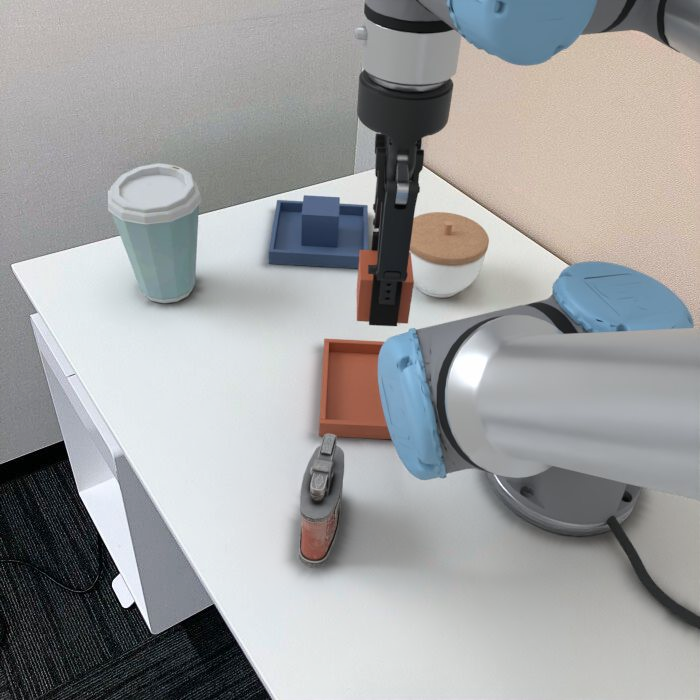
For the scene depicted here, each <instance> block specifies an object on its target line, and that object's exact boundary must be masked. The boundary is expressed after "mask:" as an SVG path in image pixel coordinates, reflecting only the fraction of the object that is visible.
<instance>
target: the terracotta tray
mask: <svg viewBox="0 0 700 700" xmlns="http://www.w3.org/2000/svg"><path fill="white" fill-rule="evenodd" d="M384 342H385V341H383V340H381V341H380V340H363V339H345V338H344V339H340V338H323V354H322V371H321V375H322V376H321V390H320V404H319V405H320V406H319V407H320V408H319V425H318V437H324V435H325V434H333V435H335V436H336V437H337V438H353V439H354V438H357V439H375V440H376V439H378V440H392V439H391V436H390V433H389V430H388V427H387V423H386V420H385V416H384V412H383V408H382V403H381V398H380V391H379V384H378V357H379V353H380V350H381V347H382V345H383V344H384Z"/></svg>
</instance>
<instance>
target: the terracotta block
mask: <svg viewBox="0 0 700 700" xmlns="http://www.w3.org/2000/svg"><path fill="white" fill-rule="evenodd" d="M377 252H378V251H374V250H371V249H368V250H360V255H359V267H358V269H357V281H356V322H364V323H365V322H367V323H369V315H370V304H371V294H372V283H373V274H368V265H376V264H377ZM407 272H408V275H407V278H406V281H405V282H403V283H402V291H401V299H400V307H399V314H398V322H397V324H408V323H409V318H410V311H411V306H412V305H411V304H412V299H413V291H414V285H415V284H414V280H413V270H412V261H411V252H409V259H408V266H407Z"/></svg>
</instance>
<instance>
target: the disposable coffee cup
mask: <svg viewBox="0 0 700 700" xmlns="http://www.w3.org/2000/svg"><path fill="white" fill-rule="evenodd" d="M201 203H202V197H201V193H200V189H199V187H198V182H196V181H195V180H194V178H193V174H192V173H191V172H189V171H187V170H186V169H184V168H182V167H180V166H178V165H175V164H174V165H173V164H169V163H168V164H167V163H161V162H158V163H151V164H146V165H139V166H137V167H135V168H133V169H131V170H129V171H127V172H125V173H122V174H121V175H120V176H119V177H118V178H117V179H116V180H115V181H114V182H113V184H112V185H111V186H110V188H109V189H108V191H107V207H108V208H107V209H108V212H110V213H111V216H112V218H113V220H114V223H115V226H116V228H117V232H118V234H119V236H120V239H121V241H122V244H123V246H124V250H125V252H126V254H127V257H128V260H129V263H130V265H131V268H132V270H133V273H134V276H135V278H136V281H137V283H138V286H139V289H140V291H141V292H142V293H143V294H144V296H145V298H148V299H149V300H150V301H151V302H154V303H155V302H156V303H159V304H169V303H178V302H179V301H181V300H183V299H185V298H187V297H189V296H190V294H191V293H192V292H193V290H194V286H195V285H196V271H197V269H196V268H197V251H198V235H199V234H198V232H199V231H198V229H199V212H200V211H199V210H200V204H201Z"/></svg>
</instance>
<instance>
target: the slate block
mask: <svg viewBox="0 0 700 700" xmlns="http://www.w3.org/2000/svg"><path fill="white" fill-rule="evenodd" d="M302 201H303V206H302V222H301V245H302V246H320V247H337V245H338V227H339V206H340V204H341V197H340V196H327V195H326V196H323V195H306V194H304V195H303V199H302Z"/></svg>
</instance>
